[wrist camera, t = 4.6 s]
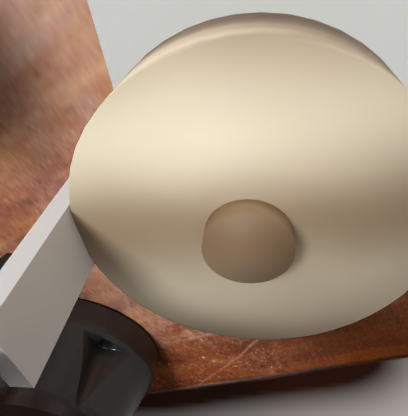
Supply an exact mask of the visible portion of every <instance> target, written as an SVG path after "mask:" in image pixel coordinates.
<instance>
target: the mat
mask: <svg viewBox="0 0 408 416" xmlns="http://www.w3.org/2000/svg"><path fill="white" fill-rule="evenodd" d="M87 1H88V4H89V8H90V11H91V14H92V18H93V21H94V24H95V28H96V31H97V35H98V38H99V41H100V45H101V48H102V52H103V55H104V58H105V62H106V65H107V69H108V72H109V75H110V79H111V82H112V85H113V89H115V88H116V87H117V86H118V84H119V83H120V82H121V81H122V80H123V79H124V77H125V76H126V75H127V74H128V73H129V72H130V71H131V69H132V68H133V67H134V66H135V65H136V64H137V63H138V62H139V61H140V60H141V59H142V58H143V57H144V56H145V55H146V54H147V53H149V52H150V51H151V50H152V49H154V48H155V47H156V46H158V45H159V44H160V43H162V42H163V41H164V40H166V39H168V38H170V37H171V36H173V35H175V34H177V33H179V32H181V31H182V30H184V29H186V28H189V27H191V26H194V25H197V24H199V23H202V22H205V21H207V20H210V19H215V18H219V17H224V16H229V15H233V14H242V13H257V12H268V13H281V14H291V15H295V16H300V17H304V18H309V19H313V20H317V21H319V22H322V23H324V24H327V25H329V26H332V27H335V28H337V29H340V30H342V31H343V32H345V33H347V34H348V35H350V36H352V37H353V38H355V39H357V40H359V41H360V42H362V43H363V44H364V45H366V46H367V47H368V48H369V49H370V50H372V51H373V52H374V53H375V54H376V55H378V56H379V57H380V58H381V59H382V60H383V61H384V62H385V64H386V65H387V66H388V67H389V68H390V69H391V70H392V72H393V73H394V74H395V75H396V76H397V77H398V79H399V80H400V81H401V82H402V83H403V84H404V86H405V87H406V88H407V89H408V0H87Z"/></svg>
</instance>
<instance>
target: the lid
mask: <svg viewBox="0 0 408 416" xmlns="http://www.w3.org/2000/svg"><path fill="white" fill-rule="evenodd" d="M69 199H70V208H71V212H72V216H73V221H74V223H75V225H76V227H77V229H78V232H79V234H80V236H81V238H82V240H83V243H84V245H85V247H86V249H87V251H88V254H89V255H90V257H91V258H92V259H93V261H94V262H95V264H96V265H97V266H98V268H99V269H100V270H101V271H102V272H103V273H104V274H105V276H106V277H107V278H108V279H109V280H110V281H111V282H112V283H113V284H114V285H115V286H117V287H118V288H119V289H120V290H121V291H122V292H123V293H125V294H126V295H127V296H129V297H130V298H132V299H133V300H134V301H136V302H137V303H139V304H140V305H142V306H144V307H145V308H147V309H149V310H150V311H152V312H154V313H156V314H158V315H160V316H162V317H164V318H166V319H168V320H170V321H173V322H176V323H178V324H181V325H183V326H186V327H189V328H193V329H196V330H199V331H203V332H207V333H212V334H216V335H221V336H227V337H235V338H244V339H285V338H296V337H302V336H308V335H314V334H319V333H323V332H327V331H331V330H334V329H337V328H340V327H343V326H346V325H349V324H352V323H354V322H356V321H359V320H361V319H363V318H365V317H368V316H370V315H372V314H373V313H375V312H377V311H379V310H380V309H382V308H384V307H386V306H387V305H389V304H390V303H392V302H393V301H394V300H396V299H397V298H399V297H400V296H401V295H403V294H404V293H405V292H406V291H407V290H408V89H407V88H406V87H405V86H404V84H403V83H402V82H401V81H400V80H399V79H398V77H397V76H396V75H395V74H394V73H393V72H392V70H391V69H390V68H389V67H388V66H387V65H386V64H385V62H384V61H383V60H382V59H381V58H380V57H379V56H378V55H376V54H375V53H374V52H373V51H372V50H370V49H369V48H368V47H367V46H366V45H364V44H363V43H362V42H360V41H359V40H357V39H355V38H353V37H352V36H350V35H348V34H347V33H345V32H343V31H342V30H340V29H337V28H335V27H332V26H329V25H327V24H324V23H322V22H319V21H317V20H313V19H309V18H304V17H300V16H295V15H291V14H281V13H268V12H257V13H242V14H233V15H229V16H224V17H219V18H215V19H210V20H207V21H205V22H202V23H199V24H197V25H194V26H191V27H189V28H186V29H184V30H182V31H181V32H179V33H177V34H175V35H173V36H171V37H170V38H168V39H166V40H164V41H163V42H162V43H160V44H159V45H158V46H156V47H155V48H154V49H152V50H151V51H150V52H149V53H147V54H146V55H145V56H144V57H143V58H142V59H141V60H140V61H139V62H138V63H137V64H136V65H135V66H134V67H133V68H132V69H131V71H130V72H129V73H128V74H127V75H126V76H125V77H124V79H123V80H122V81H121V82H120V83H119V84H118V86H117V87H116V88H115V89H114V90H113V91H112V93H111V94H110V95H109V96H108V97H107V98H106V99H105V101H104V102H103V103H102V104H101V105H100V106H99V108H98V109H97V111H96V112H95V113H94V115H93V116H92V118H91V119H90V121H89V122H88V123H87V125H86V126H85V128H84V130H83V133H82V135H81V137H80V139H79V141H78V143H77V145H76V148H75V152H74V155H73V159H72V163H71V166H70V177H69Z"/></svg>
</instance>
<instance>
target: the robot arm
mask: <svg viewBox="0 0 408 416" xmlns="http://www.w3.org/2000/svg"><path fill="white" fill-rule="evenodd" d="M94 264H95V262H94V261H93V259H92V258H91V257H90V255H89V254H88V251H87V249H86V247H85V245H84V243H83V240H82V238H81V236H80V234H79V232H78V229H77V227H76V225H75V223H74V221H73V216H72V212H71V208H70V199H69V178H68V180H67V181H66V182H65V184H64V185H63V186H62V188H61V189H60V190H59V192H58V193H57V194H56V196H55V197H54V198H53V200H52V201H51V202H50V204H49V205H48V207H47V208H46V209H45V211H44V212H43V213H42V215H41V216H40V217H39V219H38V220H37V221H36V223H35V224H34V225H33V227H32V228H31V229H30V231H29V232H28V233H27V235H26V236H25V237H24V239H23V240H22V242H21V243H20V244H19V246H18V247H17V248H16V250H15V251H14V252H13V253H7V254H5V255H4V256H3V257H2V258H0V416H132V415H133V414H134V412H135V411H136V409H137V407H138V406H139V404H140V402H141V401H142V399H143V398H144V396H145V394H146V393H147V391H148V390H149V388H150V386H151V384H152V381H153V378H154V375H155V371H156V367H157V363H158V351H157V348H156V346H155V344H154V342H153V341H152V340H151V338H150V337H149V336H148V335H147V334H146V333H145V332H144V331H143V330H142V329H141V328H140V327H139V326H138V325H136V324H135V323H133V322H132V321H131V320H129V319H127V318H126V317H124V316H122V315H120V314H119V313H117V312H115V311H112V310H110V309H108V308H106V307H103V306H100V305H97V304H95V303H91V302H88V301H84V300H80V299H78V297H79V295H80V293H81V291H82V288H83V286H84V284H85V282H86V280H87V278H88V276H89V274H90V272H91V270H92V268H93V266H94Z"/></svg>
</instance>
